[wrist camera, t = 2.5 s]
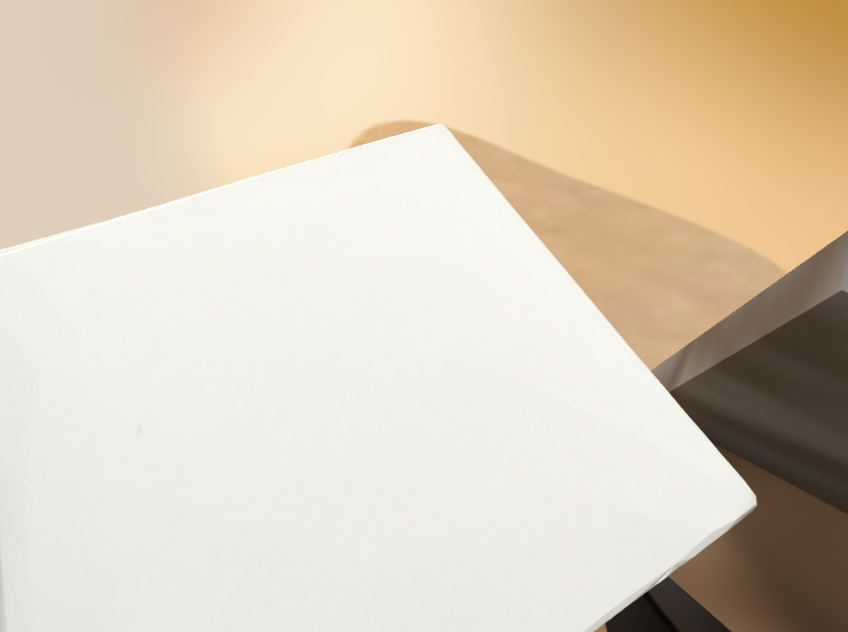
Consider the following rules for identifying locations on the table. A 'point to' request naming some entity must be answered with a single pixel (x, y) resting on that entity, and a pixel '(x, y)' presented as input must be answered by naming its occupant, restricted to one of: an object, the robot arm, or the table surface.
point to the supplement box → (333, 417)
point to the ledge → (776, 450)
